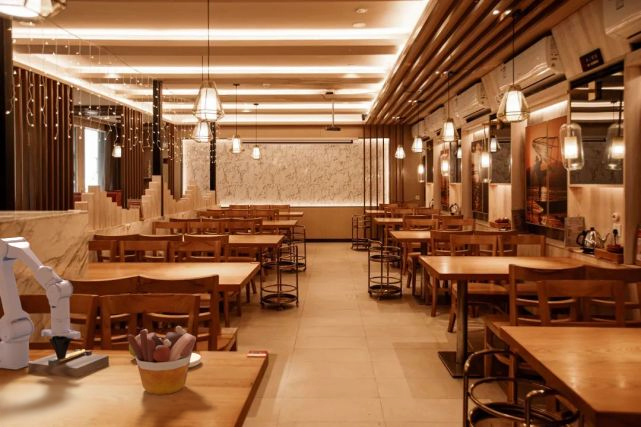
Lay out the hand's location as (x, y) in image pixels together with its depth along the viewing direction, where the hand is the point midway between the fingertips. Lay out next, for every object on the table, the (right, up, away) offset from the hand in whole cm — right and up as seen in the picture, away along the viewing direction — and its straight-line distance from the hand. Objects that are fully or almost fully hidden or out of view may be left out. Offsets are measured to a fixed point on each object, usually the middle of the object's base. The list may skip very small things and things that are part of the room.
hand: (61, 358), depth 185 cm
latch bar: (+1, -1, +4) cm, 4 cm away
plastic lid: (+38, -4, +6) cm, 39 cm away
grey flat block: (+1, -4, +4) cm, 5 cm away
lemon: (+21, -4, +14) cm, 25 cm away
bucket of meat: (+39, -5, -18) cm, 43 cm away
